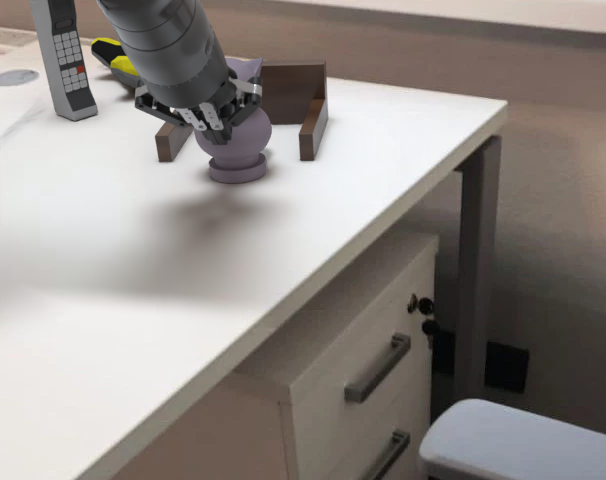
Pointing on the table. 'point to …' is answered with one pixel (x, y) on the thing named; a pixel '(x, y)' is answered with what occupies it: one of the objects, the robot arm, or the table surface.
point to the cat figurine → (240, 138)
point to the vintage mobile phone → (63, 58)
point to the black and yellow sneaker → (115, 60)
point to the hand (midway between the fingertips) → (220, 136)
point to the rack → (275, 106)
